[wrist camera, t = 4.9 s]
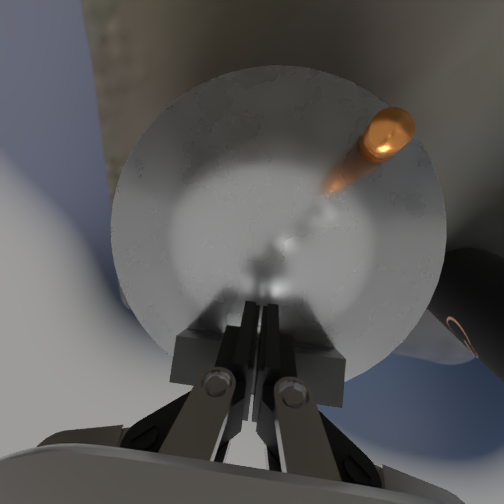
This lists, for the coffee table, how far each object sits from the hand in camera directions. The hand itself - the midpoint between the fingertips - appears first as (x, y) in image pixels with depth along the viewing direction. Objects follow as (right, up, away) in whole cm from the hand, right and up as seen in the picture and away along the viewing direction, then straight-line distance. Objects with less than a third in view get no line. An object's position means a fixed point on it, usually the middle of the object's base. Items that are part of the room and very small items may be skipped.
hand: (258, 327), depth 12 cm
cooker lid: (+1, +6, +4) cm, 7 cm away
